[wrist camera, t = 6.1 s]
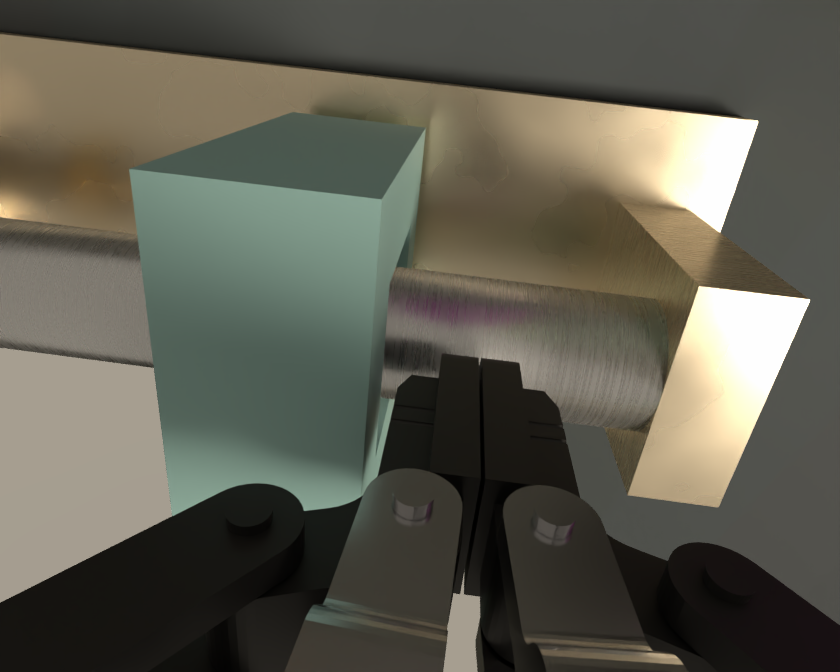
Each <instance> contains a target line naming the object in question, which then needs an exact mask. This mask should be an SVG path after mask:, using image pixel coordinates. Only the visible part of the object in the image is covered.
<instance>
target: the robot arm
mask: <svg viewBox="0 0 840 672" xmlns="http://www.w3.org/2000/svg"><path fill="white" fill-rule="evenodd" d="M464 569H465V571H464ZM464 573H465V575H464V594H466V595H473V596H480V621H479V626H478V631H477V636H476V659H477V671H478V672H840V625H838V624H837V623H836V622H834V621H833V620H832V619H830V618H829V617H827V616H826V615H825V614H823V613H822V612H821V611H819V610H818V609H817V608H815V607H814V606H812V605H811V604H810V603H808V602H807V601H806V600H804V599H803V598H802V597H800V596H799V595H797V594H796V593H795V592H793V591H792V590H791V589H789V588H788V587H787V586H785V585H784V584H782V583H781V582H780V581H778V580H777V579H776V578H774V577H773V576H772V575H770V574H769V573H767V572H766V571H765V570H763V569H762V568H761V567H759V566H758V565H757V564H755V563H754V562H752V561H751V560H749V559H748V558H746V557H744V556H742V555H740V554H739V553H737V552H734V551H732V550H730V549H728V548H725V547H722V546H718V545H714V544H710V543H701V542H697V543H688V544H684V545H682V546H679V547H678V548H676V549H675V550H674V551H673V552H672V554H671V555H670V557H669V560H668V561H666V560H663V559H661V558H658V557H655V556H653V555H650V554H647V553H645V552H642V551H639V550H637V549H634V548H632V547H629V546H627V545H625V544H622V543H621V542H619V541H617V540H615V539H613V538H612V537H610V536H609V535H607V534H606V531H605V528H604V526H603V523H602V521H601V519H600V517H599V515H598V514H597V513H596V511H595V510H594V509H593V508H592V507H591V506H590V505H589V504H588V503H586V502H585V501H584V500H583V499H581V498H580V495H579V491H578V487H577V483H576V479H575V474H574V470H573V466H572V462H571V458H570V453H569V449H568V445H567V444H566V436H565V432H564V429H563V424H562V420H561V415H560V411H559V407H558V406H557V405H556V404H555V403H554V402H553V401H552V399H551V398H550V397H549V396H548V395H547V394H546V393H545V392H544V391H540V390H532V389H524V388H523V384H522V377H521V370H520V364H519V362H512V361H503V360H495V359H487V358H481V360H480V364H479V358H478V357H470V356H461V355H453V354H445V353H442V354H441V362H440V370H439V378H434V377H426V376H418V375H411V376H410V377H409V378H407V379H406V380H405V381H404V382H403V383H402V384H401V385H400V386H399V387H398V388H397V392H396V396H395V401H394V406H393V410H392V414H391V419H390V423H389V427H388V432H387V436H386V441H385V445H384V450H383V454H382V458H381V463H380V467H379V472H378V476H377V477H376V478H375V479H374V480H373V481H371V482H370V484H369V485H368V486H367V488H366V490H365V492H364V494H363V496H361V497H360V498H358V499H356V500H354V501H352V502H350V503H347V504H344V505H341V506H337V507H332V508H325V509H316V510H308V511H304V509H303V506H302V504H301V502H300V501H299V499H298V498H297V497H296V496H295V495H294V494H292V493H291V492H289V491H288V490H286V489H284V488H282V487H278V486H275V485H271V484H263V483H252V484H244V485H238V486H235V487H232V488H229V489H226V490H224V491H222V492H220V493H218V494H216V495H214V496H212V497H210V498H208V499H206V500H204V501H202V502H200V503H198V504H196V505H194V506H192V507H190V508H188V509H186V510H184V511H182V512H180V513H178V514H176V515H174V516H172V517H170V518H168V519H166V520H164V521H162V522H160V523H158V524H156V525H154V526H152V527H150V528H148V529H146V530H144V531H142V532H140V533H138V534H136V535H134V536H132V537H130V538H128V539H126V540H124V541H123V542H120V543H118V544H116V545H114V546H112V547H110V548H108V549H106V550H104V551H102V552H100V553H98V554H96V555H94V556H92V557H90V558H88V559H86V560H84V561H82V562H80V563H78V564H77V565H74V566H72V567H70V568H68V569H66V570H64V571H62V572H61V573H58V574H57V575H54V576H52V577H51V578H49V579H47V580H45V581H43V582H41V583H39V584H37V585H35V586H33V587H31V588H29V589H27V590H25V591H23V592H21V593H19V594H17V595H15V596H13V597H11V598H9V599H7V600H5V601H3V602H1V603H0V672H443V667H444V660H445V651H446V643H447V634H448V631H447V625H448V621H449V615H450V609H451V603H452V597H453V593H456V594H460V591H461V585H462V580H463V574H464Z"/></svg>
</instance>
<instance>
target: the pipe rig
mask: <svg viewBox="0 0 840 672" xmlns="http://www.w3.org/2000/svg"><path fill="white" fill-rule="evenodd" d="M291 112H297V113H305V114H314V115H322V116H331V117H339V118H348V119H356V120H365V121H373V122H382V123H390V124H399V125H407V126H416V127H424V128H426V132H425V142H424V152H423V162H422V172H421V182H420V192H419V202H418V212H417V222H416V232H415V242H414V252H413V262H412V268H404V267H395V270H394V273H393V276H392V278H391V281H390V286H389V298H388V310H387V323H386V335H385V347H384V359H383V371H382V383H381V395H380V398H387V399H394V400H395V396H396V392H397V388H398V387H399V386H400V385H401V384H402V383H403V382H404V381H405V380H406V379H407V378H409V377H410V376H411V375H418V376H426V377H434V378H439V370H440V362H441V354H442V353H445V354H453V355H461V356H470V357H478V358H479V364H480V360H481V358H487V359H495V360H503V361H512V362H519V364H520V370H521V377H522V384H523V388H524V389H532V390H540V391H544V392H545V393H546V394H547V395H548V396H549V397H550V398H551V399H552V401H553V402H554V403H555V404H556V405H557V406H558V407H559V411H560V415H561V420H562V422H569V423H576V424H584V425H592V426H599V427H604V428H605V431H606V434H607V437H608V440H609V443H610V446H611V448H612V451H613V454H614V457H615V460H616V463H617V466H618V469H619V472H620V475H621V478H622V480H623V483H624V486H625V489H626V492H627V495H631V496H638V497H646V498H653V499H660V500H668V501H675V502H683V503H690V504H697V505H705V506H712V507H719V505H720V503H721V500H722V498H723V496H724V493H725V491H726V489H727V487H728V484H729V482H730V480H731V478H732V475H733V473H734V471H735V469H736V466H737V464H738V462H739V460H740V457H741V455H742V453H743V450H744V448H745V446H746V444H747V441H748V439H749V437H750V435H751V432H752V430H753V428H754V426H755V423H756V421H757V419H758V416H759V414H760V412H761V410H762V407H763V405H764V403H765V401H766V398H767V396H768V394H769V392H770V389H771V387H772V385H773V382H774V380H775V378H776V376H777V373H778V371H779V369H780V367H781V364H782V362H783V360H784V358H785V355H786V353H787V351H788V348H789V346H790V344H791V342H792V339H793V337H794V335H795V333H796V330H797V328H798V326H799V324H800V321H801V319H802V317H803V314H804V312H805V310H806V308H807V305H808V303H809V301H810V299H808V298H807V297H806V296H804V295H803V294H802V293H800V292H799V291H798V290H796V289H795V288H793V287H792V286H791V285H789V284H788V283H787V282H785V281H784V280H783V279H781V278H780V277H779V276H777V275H776V274H775V273H773V272H772V271H771V270H769V269H768V268H767V267H765V266H764V265H763V264H761V263H760V262H759V261H757V260H756V259H755V258H753V257H752V256H751V255H749V254H748V253H747V252H745V251H744V250H743V249H741V248H740V247H739V246H737V245H736V244H735V243H733V242H732V241H731V240H729V239H728V238H727V237H725V236H724V235H723V234H721V233H720V231H721V228H722V225H723V222H724V220H725V217H726V214H727V211H728V208H729V205H730V202H731V199H732V196H733V193H734V191H735V188H736V185H737V182H738V179H739V176H740V173H741V170H742V167H743V164H744V162H745V159H746V156H747V153H748V150H749V147H750V144H751V141H752V138H753V135H754V133H755V130H756V127H757V124H758V121H756V120H752V119H748V118H744V117H737V116H728V115H720V114H711V113H702V112H693V111H685V110H676V109H667V108H659V107H650V106H641V105H632V104H624V103H615V102H606V101H598V100H589V99H580V98H571V97H563V96H554V95H545V94H537V93H528V92H519V91H510V90H502V89H493V88H484V87H476V86H467V85H458V84H449V83H441V82H432V81H423V80H415V79H406V78H397V77H389V76H380V75H371V74H362V73H354V72H345V71H336V70H328V69H319V68H310V67H301V66H293V65H284V64H275V63H267V62H258V61H249V60H240V59H232V58H223V57H214V56H206V55H197V54H188V53H179V52H171V51H162V50H153V49H145V48H136V47H127V46H118V45H110V44H101V43H92V42H84V41H75V40H66V39H57V38H49V37H40V36H31V35H23V34H14V33H5V32H0V348H7V349H15V350H22V351H30V352H37V353H45V354H52V355H60V356H67V357H76V358H83V359H91V360H98V361H105V362H113V363H121V364H128V365H136V366H143V367H151V368H154V365H153V357H152V349H151V341H150V333H149V325H148V317H147V309H146V301H145V293H144V285H143V277H142V269H141V261H140V252H139V244H138V236H137V228H136V220H135V212H134V204H133V196H132V188H131V180H130V172H129V169H130V168H133V167H136V166H139V165H142V164H145V163H147V162H150V161H153V160H156V159H159V158H162V157H165V156H168V155H170V154H173V153H176V152H179V151H182V150H185V149H188V148H191V147H193V146H196V145H199V144H202V143H205V142H208V141H211V140H214V139H217V138H219V137H222V136H225V135H228V134H231V133H234V132H237V131H240V130H242V129H245V128H248V127H251V126H254V125H257V124H260V123H263V122H266V121H268V120H271V119H274V118H277V117H280V116H283V115H286V114H289V113H291Z"/></svg>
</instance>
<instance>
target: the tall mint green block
mask: <svg viewBox="0 0 840 672" xmlns="http://www.w3.org/2000/svg"><path fill="white" fill-rule="evenodd" d="M425 132H426V128H424V127H416V126H407V125H399V124H390V123H382V122H373V121H365V120H356V119H348V118H339V117H331V116H322V115H314V114H305V113H297V112H291V113H289V114H286V115H283V116H280V117H277V118H274V119H271V120H268V121H266V122H263V123H260V124H257V125H254V126H251V127H248V128H245V129H242V130H240V131H237V132H234V133H231V134H228V135H225V136H222V137H219V138H217V139H214V140H211V141H208V142H205V143H202V144H199V145H196V146H193V147H191V148H188V149H185V150H182V151H179V152H176V153H173V154H170V155H168V156H165V157H162V158H159V159H156V160H153V161H150V162H147V163H145V164H142V165H139V166H136V167H133V168H130V169H129V172H130V180H131V188H132V196H133V204H134V212H135V220H136V228H137V236H138V244H139V252H140V261H141V269H142V277H143V285H144V293H145V301H146V309H147V317H148V325H149V333H150V341H151V349H152V357H153V365H154V373H155V381H156V389H157V397H158V404H159V413H160V421H161V429H162V437H163V445H164V453H165V461H166V470H167V478H168V486H169V494H170V502H171V510H172V516H174V515H176V514H178V513H180V512H182V511H184V510H186V509H188V508H190V507H192V506H194V505H196V504H198V503H200V502H202V501H204V500H206V499H208V498H210V497H212V496H214V495H216V494H218V493H220V492H222V491H224V490H226V489H229V488H232V487H235V486H238V485H244V484H252V483H263V484H271V485H275V486H278V487H282V488H284V489H286V490H288V491H289V492H291V493H292V494H294V495H295V496H296V497H297V498H298V499H299V501H300V502H301V504H302V506H303V509H304V511H308V510H316V509H325V508H332V507H337V506H341V505H344V504H347V503H350V502H352V501H354V500H356V499H358V498H360V497H361V496H363V494H364V492H365V490H366V488H367V486H368V485H369V484H370V482H371V481H373V480H374V479H375V478H376V477H377V476H378V472H379V467H380V463H381V458H382V454H383V450H384V445H385V441H386V436H387V432H388V427H389V423H390V419H391V414H392V410H393V406H394V401H395V400H394V399H387V398H380V395H381V383H382V371H383V359H384V347H385V335H386V323H387V310H388V298H389V286H390V281H391V278H392V276H393V273H394V270H395V267H404V268H412V262H413V252H414V242H415V232H416V222H417V212H418V202H419V192H420V182H421V172H422V162H423V152H424V142H425Z"/></svg>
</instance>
